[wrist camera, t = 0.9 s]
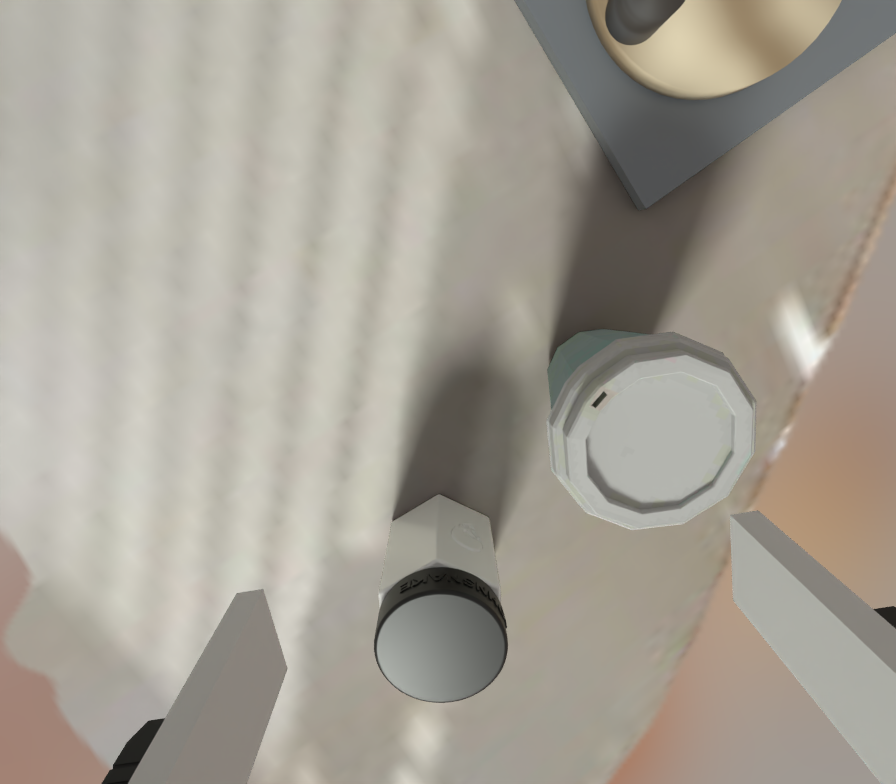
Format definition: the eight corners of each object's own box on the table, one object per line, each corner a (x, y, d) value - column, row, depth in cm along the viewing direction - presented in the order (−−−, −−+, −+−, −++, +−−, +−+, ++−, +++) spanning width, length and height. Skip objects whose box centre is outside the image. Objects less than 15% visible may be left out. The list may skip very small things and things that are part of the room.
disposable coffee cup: (689, 361, 41) (825, 428, 26) (594, 469, 43) (670, 585, 28) (580, 273, 39) (662, 292, 24) (487, 390, 41) (510, 471, 27)
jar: (514, 525, 44) (539, 626, 33) (467, 603, 46) (475, 724, 34) (414, 478, 43) (403, 566, 31) (370, 560, 45) (344, 671, 33)
